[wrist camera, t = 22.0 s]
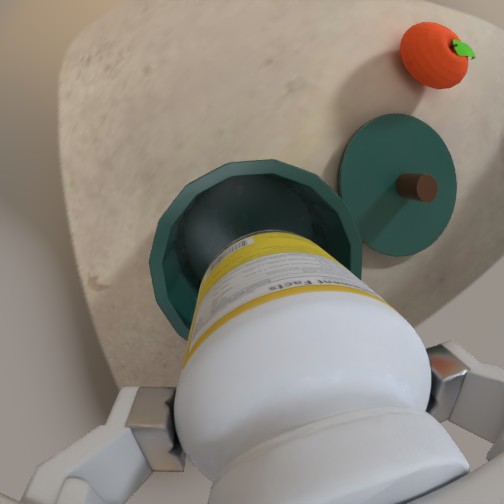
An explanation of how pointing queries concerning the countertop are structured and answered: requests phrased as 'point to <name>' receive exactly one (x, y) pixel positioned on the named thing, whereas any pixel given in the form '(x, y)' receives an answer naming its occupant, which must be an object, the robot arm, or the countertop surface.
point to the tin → (243, 226)
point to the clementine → (435, 55)
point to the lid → (398, 184)
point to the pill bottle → (306, 384)
